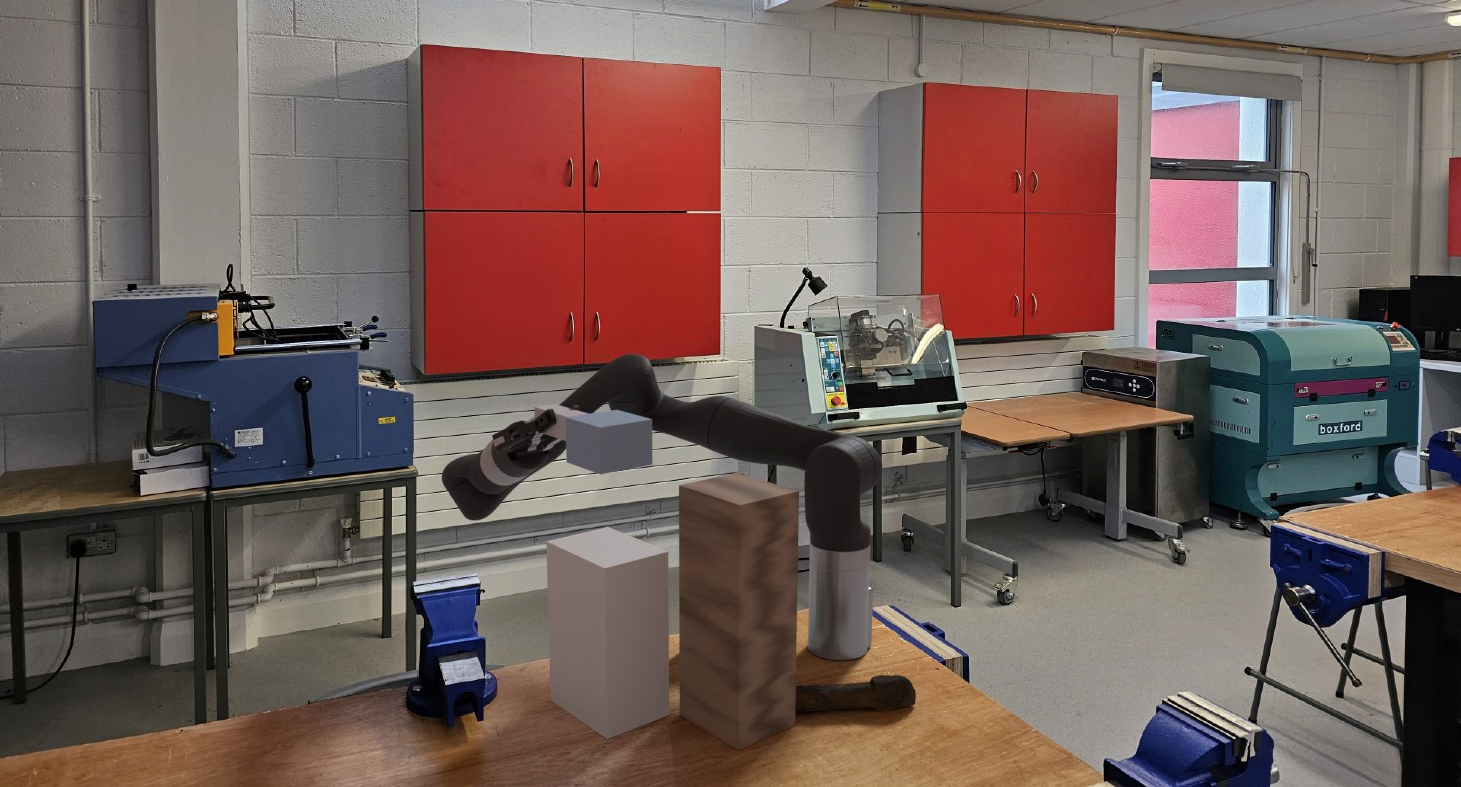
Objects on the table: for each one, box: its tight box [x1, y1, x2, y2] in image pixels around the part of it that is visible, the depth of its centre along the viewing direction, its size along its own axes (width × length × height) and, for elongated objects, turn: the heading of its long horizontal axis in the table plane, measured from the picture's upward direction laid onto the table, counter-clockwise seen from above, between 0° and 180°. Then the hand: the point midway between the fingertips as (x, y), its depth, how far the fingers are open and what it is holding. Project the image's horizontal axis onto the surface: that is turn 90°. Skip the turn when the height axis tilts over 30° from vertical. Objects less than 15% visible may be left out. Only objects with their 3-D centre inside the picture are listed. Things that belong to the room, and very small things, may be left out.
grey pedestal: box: [545, 526, 670, 740], centre depth 137 cm, size 10×14×23 cm
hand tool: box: [795, 674, 917, 716], centre depth 138 cm, size 19×4×5 cm, turn 94°
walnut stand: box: [678, 472, 800, 751], centre depth 133 cm, size 10×12×32 cm
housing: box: [533, 404, 653, 475], centre depth 136 cm, size 8×20×6 cm, turn 41°
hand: (565, 413), depth 139 cm, fingers closed on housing, 3 cm apart
